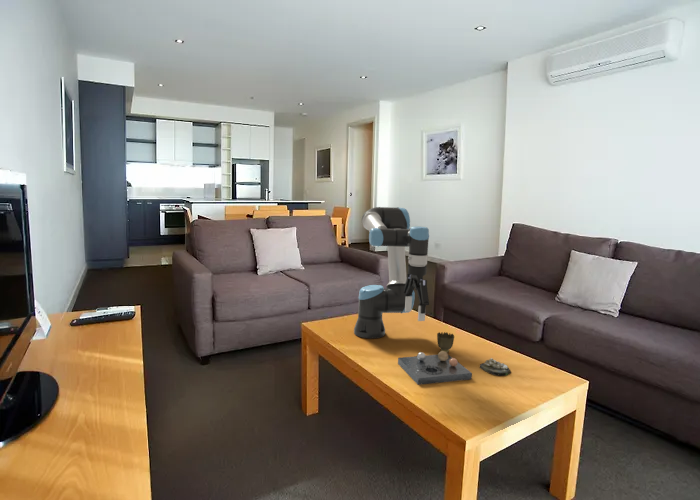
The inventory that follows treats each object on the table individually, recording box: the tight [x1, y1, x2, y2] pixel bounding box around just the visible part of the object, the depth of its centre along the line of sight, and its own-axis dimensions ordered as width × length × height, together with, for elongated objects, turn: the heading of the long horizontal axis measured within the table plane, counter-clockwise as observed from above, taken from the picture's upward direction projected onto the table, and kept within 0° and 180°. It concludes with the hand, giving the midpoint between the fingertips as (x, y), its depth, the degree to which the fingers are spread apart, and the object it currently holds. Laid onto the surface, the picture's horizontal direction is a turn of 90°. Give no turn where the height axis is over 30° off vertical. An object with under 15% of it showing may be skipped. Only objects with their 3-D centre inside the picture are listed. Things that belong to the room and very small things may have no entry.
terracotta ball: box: [449, 357, 459, 367], centre depth 164 cm, size 3×3×3 cm
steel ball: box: [416, 351, 426, 361], centre depth 168 cm, size 3×3×3 cm
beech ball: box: [437, 351, 449, 361], centre depth 168 cm, size 4×4×4 cm
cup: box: [436, 331, 455, 354], centre depth 184 cm, size 8×7×8 cm
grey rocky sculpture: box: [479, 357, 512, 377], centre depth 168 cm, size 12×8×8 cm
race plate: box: [397, 354, 473, 386], centre depth 165 cm, size 19×22×2 cm
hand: (414, 315), depth 175 cm, fingers open, 12 cm apart
